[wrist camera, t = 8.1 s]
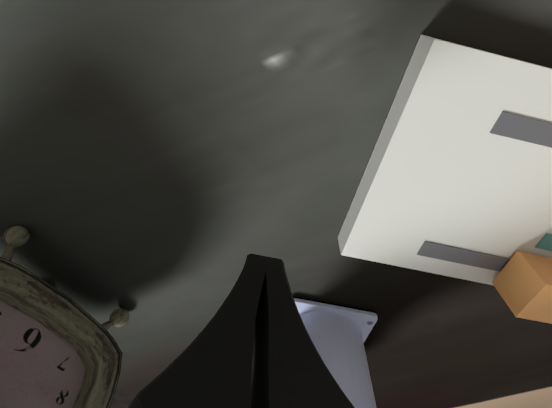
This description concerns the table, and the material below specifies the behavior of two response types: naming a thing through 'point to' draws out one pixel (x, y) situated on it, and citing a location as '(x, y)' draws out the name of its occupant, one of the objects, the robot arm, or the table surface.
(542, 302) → the tan wooden block
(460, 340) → the table surface
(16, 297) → the tabletop clock
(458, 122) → the switch panel
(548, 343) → the table surface
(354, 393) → the robot arm
